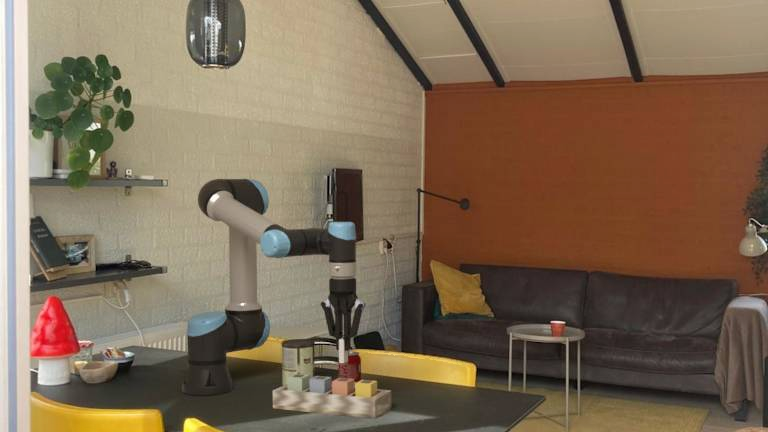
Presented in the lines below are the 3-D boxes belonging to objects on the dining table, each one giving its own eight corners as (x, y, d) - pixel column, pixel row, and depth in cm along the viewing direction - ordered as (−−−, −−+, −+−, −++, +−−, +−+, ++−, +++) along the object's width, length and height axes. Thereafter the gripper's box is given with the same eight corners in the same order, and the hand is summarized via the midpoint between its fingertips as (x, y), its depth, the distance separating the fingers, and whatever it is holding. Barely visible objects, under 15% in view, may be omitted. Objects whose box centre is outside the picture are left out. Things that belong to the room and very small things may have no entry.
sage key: (287, 394, 239) (287, 376, 239) (295, 391, 244) (295, 373, 244) (302, 396, 238) (301, 377, 238) (309, 392, 242) (309, 374, 242)
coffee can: (292, 381, 270) (292, 337, 270) (321, 384, 266) (320, 340, 265) (275, 388, 261) (275, 343, 260) (304, 391, 256) (304, 345, 256)
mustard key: (355, 401, 232) (355, 382, 231) (362, 397, 236) (361, 379, 236) (370, 402, 230) (370, 383, 230) (377, 398, 234) (377, 380, 234)
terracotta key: (332, 399, 234) (332, 380, 234) (339, 395, 238) (339, 377, 238) (347, 400, 233) (347, 381, 232) (354, 396, 237) (354, 378, 237)
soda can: (358, 395, 252) (358, 355, 251) (336, 394, 253) (336, 354, 253) (363, 390, 258) (363, 351, 258) (341, 389, 260) (341, 350, 259)
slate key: (309, 396, 237) (309, 378, 237) (317, 393, 241) (316, 375, 241) (324, 398, 235) (324, 379, 235) (331, 394, 239) (331, 376, 239)
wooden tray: (272, 408, 237) (272, 390, 237) (292, 398, 248) (292, 381, 248) (374, 418, 226) (374, 400, 225) (391, 408, 237) (391, 390, 237)
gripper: (315, 278, 233) (316, 363, 234) (358, 279, 229) (359, 366, 229) (327, 275, 240) (328, 358, 241) (369, 276, 236) (370, 361, 236)
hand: (343, 361), depth 235 cm, fingers closed
